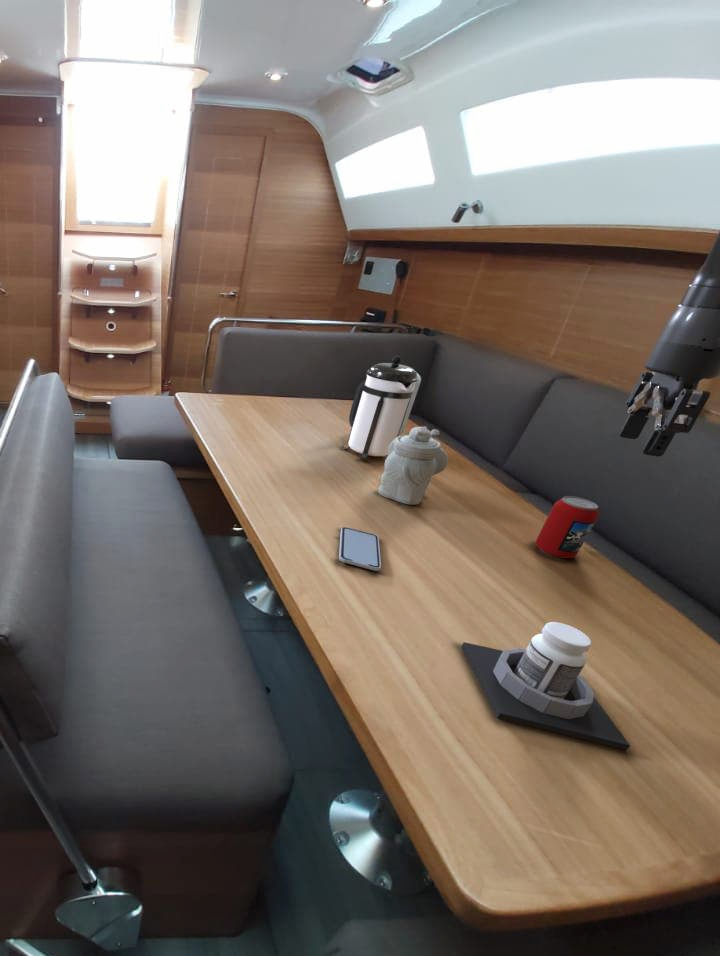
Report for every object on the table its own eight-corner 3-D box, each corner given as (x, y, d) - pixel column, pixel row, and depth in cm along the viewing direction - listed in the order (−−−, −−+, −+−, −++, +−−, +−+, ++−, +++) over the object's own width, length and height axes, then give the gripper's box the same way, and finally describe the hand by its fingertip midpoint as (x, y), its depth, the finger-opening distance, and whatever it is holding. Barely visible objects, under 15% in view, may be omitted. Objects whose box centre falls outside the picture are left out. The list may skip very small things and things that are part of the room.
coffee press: (401, 454, 154) (435, 356, 141) (387, 468, 143) (422, 364, 130) (343, 439, 164) (369, 347, 151) (325, 451, 154) (352, 353, 141)
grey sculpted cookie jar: (412, 480, 136) (435, 414, 128) (454, 506, 123) (484, 435, 115) (355, 480, 135) (376, 414, 126) (392, 507, 121) (418, 435, 113)
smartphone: (378, 535, 108) (381, 569, 95) (377, 538, 108) (379, 573, 96) (341, 525, 110) (339, 558, 98) (340, 529, 111) (338, 562, 99)
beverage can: (569, 564, 101) (598, 513, 96) (528, 549, 106) (554, 499, 101) (578, 554, 105) (606, 504, 100) (538, 539, 110) (563, 491, 104)
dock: (568, 670, 75) (578, 653, 74) (626, 750, 63) (641, 732, 61) (461, 646, 79) (469, 629, 77) (497, 718, 67) (507, 699, 65)
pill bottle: (559, 683, 71) (592, 630, 67) (566, 710, 67) (602, 656, 63) (509, 665, 74) (538, 613, 70) (513, 690, 70) (544, 636, 66)
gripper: (640, 331, 78) (590, 428, 85) (686, 345, 67) (625, 455, 74) (706, 336, 75) (650, 437, 82) (767, 351, 64) (695, 466, 71)
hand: (638, 445), depth 78 cm, fingers open, 8 cm apart
